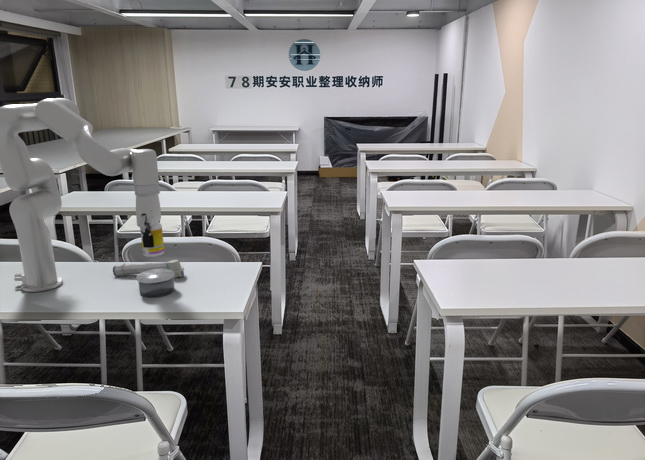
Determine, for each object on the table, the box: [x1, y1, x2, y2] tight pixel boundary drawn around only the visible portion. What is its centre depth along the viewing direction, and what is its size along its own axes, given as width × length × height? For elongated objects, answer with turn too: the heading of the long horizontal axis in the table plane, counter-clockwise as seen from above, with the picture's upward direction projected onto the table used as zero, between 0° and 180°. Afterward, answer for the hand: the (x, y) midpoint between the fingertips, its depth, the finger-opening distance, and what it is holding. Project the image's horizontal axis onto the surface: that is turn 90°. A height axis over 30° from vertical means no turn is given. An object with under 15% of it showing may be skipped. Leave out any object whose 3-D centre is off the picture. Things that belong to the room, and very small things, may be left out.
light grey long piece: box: [112, 259, 185, 279], centre depth 182 cm, size 5×7×25 cm
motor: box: [135, 269, 175, 299], centre depth 169 cm, size 12×13×6 cm
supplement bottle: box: [139, 217, 165, 258], centre depth 164 cm, size 7×7×13 cm
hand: (152, 243), depth 164 cm, fingers closed on supplement bottle, 6 cm apart
